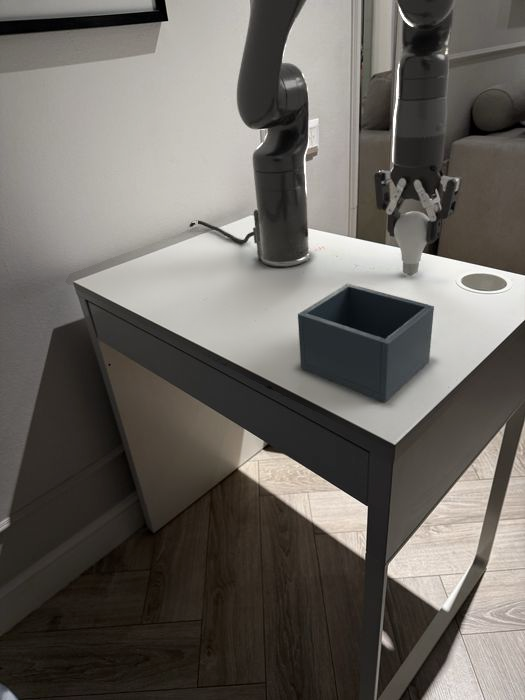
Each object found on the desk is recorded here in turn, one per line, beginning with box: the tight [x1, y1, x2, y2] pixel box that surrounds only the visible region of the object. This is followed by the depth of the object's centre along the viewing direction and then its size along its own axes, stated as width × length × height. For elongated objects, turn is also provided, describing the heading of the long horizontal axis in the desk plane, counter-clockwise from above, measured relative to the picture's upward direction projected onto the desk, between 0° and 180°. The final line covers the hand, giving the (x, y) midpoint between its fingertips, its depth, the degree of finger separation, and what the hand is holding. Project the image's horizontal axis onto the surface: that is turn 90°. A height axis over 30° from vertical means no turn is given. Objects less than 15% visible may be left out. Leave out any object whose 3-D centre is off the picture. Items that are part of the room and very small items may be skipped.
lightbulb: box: [394, 210, 430, 277], centre depth 86 cm, size 6×6×11 cm
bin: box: [297, 283, 435, 403], centre depth 65 cm, size 13×11×8 cm
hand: (412, 238), depth 86 cm, fingers closed on lightbulb, 6 cm apart
